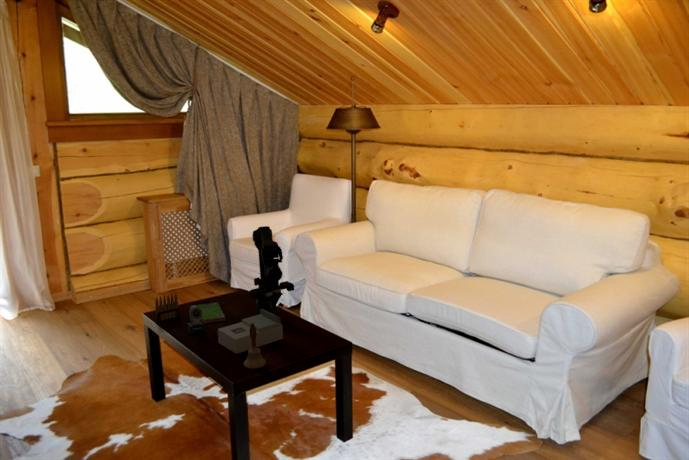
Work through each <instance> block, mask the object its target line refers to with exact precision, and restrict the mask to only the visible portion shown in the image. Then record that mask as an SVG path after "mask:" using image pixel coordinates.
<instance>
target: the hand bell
mask: <svg viewBox="0 0 689 460" xmlns="http://www.w3.org/2000/svg"><path fill="white" fill-rule="evenodd" d="M256 335H257V331H256V327H255V325H254V323H252V324H251V326H250V337H251V340H252V349H250V350H247V352H248V353H247V358H246V359H245V361H244V362H243V366H244V367H245V368H247V369H253V370H255V369H260V368H262V367H264V366H266V364H267V360H265V358H263V356H262V353H261V349H260V348H259V347H256Z"/></svg>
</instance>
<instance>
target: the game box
mask: <svg viewBox="0 0 689 460" xmlns="http://www.w3.org/2000/svg"><path fill="white" fill-rule="evenodd" d="M197 307H199V309H201V311H202V312H203V313H202V316H201V322H202V323H203V324H211V323H216V322H224V321H226V316H225V313H224V312H223V309H222V308H221V306H220V304H219V302H211V303H201V304H197Z"/></svg>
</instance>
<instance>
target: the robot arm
mask: <svg viewBox="0 0 689 460" xmlns="http://www.w3.org/2000/svg"><path fill="white" fill-rule="evenodd" d="M273 236H274V235H273V229H271V227H270V226H269V225H268V226H267V225H265V226H259V227H257V229H255V230H253V231H252V242H253V243H254V247H256V249H257V250H258V251H257V253H258V264H259V275H260V276H259V277H256V278H253V284H254V286H255V287H256V286H258V287H256V288H252V289H250V290H249V292H248V295H249V297H250V298H251V299H254V300H255V303H256V305H257V306H258V307H257V314H256V315H260V310H261V309H264V310H266V311H268V312H270V313H272V314H274V315H276V313H275V309H276V307H277V305H278V302H279V301H280V298H281V297H282V296H283V294H284V293H282V290H286V291H288V292H293V291H294V290H295V285H294V283H292V282H290V281H288V280H286V281H282V282H280V280H282V278H283V271H282V269H281V267H280V265H279V263H283V260H284V256H283V250H282V248H281V246H280V245H279V243H278V242H277V241H275V240H274V239H273Z"/></svg>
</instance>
